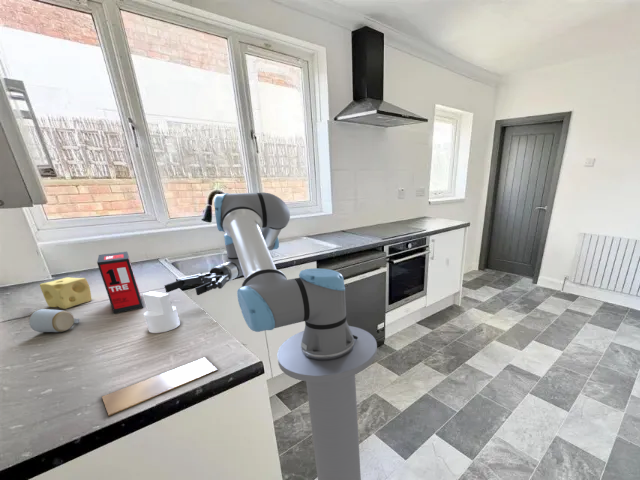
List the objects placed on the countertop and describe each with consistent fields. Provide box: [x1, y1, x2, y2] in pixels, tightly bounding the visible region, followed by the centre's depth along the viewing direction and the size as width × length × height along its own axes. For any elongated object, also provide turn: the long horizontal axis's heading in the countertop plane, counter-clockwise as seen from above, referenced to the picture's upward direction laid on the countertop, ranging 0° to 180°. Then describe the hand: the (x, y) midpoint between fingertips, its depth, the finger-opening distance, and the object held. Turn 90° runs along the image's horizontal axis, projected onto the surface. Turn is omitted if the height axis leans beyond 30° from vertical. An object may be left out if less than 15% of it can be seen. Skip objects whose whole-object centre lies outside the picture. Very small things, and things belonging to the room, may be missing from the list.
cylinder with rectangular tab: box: [142, 290, 181, 334], centre depth 103 cm, size 9×9×12 cm
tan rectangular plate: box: [101, 356, 218, 417], centre depth 76 cm, size 22×9×1 cm, turn 138°
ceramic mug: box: [28, 308, 80, 333], centre depth 104 cm, size 11×8×8 cm
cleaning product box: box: [96, 251, 144, 314], centre depth 122 cm, size 16×9×20 cm, turn 40°
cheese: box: [39, 276, 93, 310], centre depth 126 cm, size 10×11×10 cm
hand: (181, 290), depth 111 cm, fingers open, 13 cm apart
